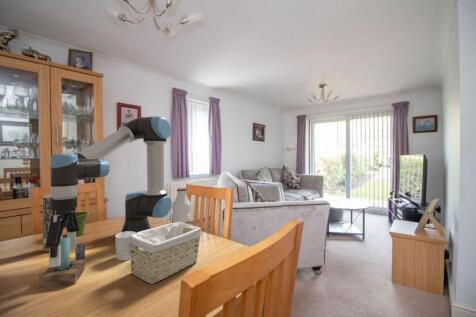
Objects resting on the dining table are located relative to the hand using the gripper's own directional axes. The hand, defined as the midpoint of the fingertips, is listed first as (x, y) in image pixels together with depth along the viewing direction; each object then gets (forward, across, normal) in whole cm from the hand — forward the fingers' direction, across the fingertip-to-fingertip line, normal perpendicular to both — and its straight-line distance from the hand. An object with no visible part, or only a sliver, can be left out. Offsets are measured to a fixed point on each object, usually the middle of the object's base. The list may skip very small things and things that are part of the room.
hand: (63, 257), depth 78 cm
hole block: (+8, 0, 0) cm, 8 cm away
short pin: (+8, -13, +1) cm, 15 cm away
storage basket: (+8, +2, +35) cm, 36 cm away
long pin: (+8, 0, 0) cm, 8 cm away
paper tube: (+8, -30, -15) cm, 34 cm away
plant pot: (+8, -49, -12) cm, 51 cm away
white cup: (+8, -12, +18) cm, 23 cm away
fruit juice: (+8, -20, +42) cm, 47 cm away
